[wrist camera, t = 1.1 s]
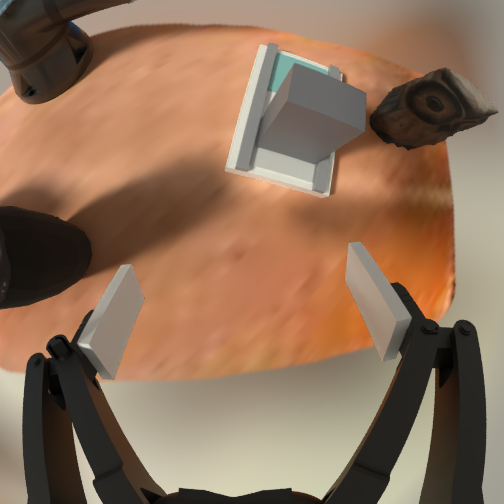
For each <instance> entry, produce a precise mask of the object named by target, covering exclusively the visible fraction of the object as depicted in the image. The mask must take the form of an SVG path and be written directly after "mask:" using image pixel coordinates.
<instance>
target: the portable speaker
mask: <svg viewBox="0 0 504 504" xmlns="http://www.w3.org/2000/svg"><path fill="white" fill-rule="evenodd" d="M91 256H92V254H91V246H90V241H89V240H88V238H87V237H86V235H85V234H84V232H83V231H81V230H80V229H78V228H77V227H76V226H74V225H72V224H70V223H68V222H66V221H63V220H61V219H59V218H58V217H54V216H52V215H47V214H43V213H39V212H34V211H30V210H26V209H22V208H18V207H13V206H4V207H0V309H7V308H15V307H22V306H27V305H30V304H33V303H36V302H39V301H41V300H44V299H47V298H50V297H52V296H55V295H58V294H60V293H61V292H63V291H64V290H66V289H67V288H69V287H70V286H72V285H74V284H75V283H77V282H78V281H79V280H80V279H81V278H82V277H83V276H84V274H85V272H86V270H87V268H88V265H89V262H90V259H91Z"/></svg>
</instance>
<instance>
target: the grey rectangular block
mask: <svg viewBox="0 0 504 504" xmlns="http://www.w3.org/2000/svg"><path fill="white" fill-rule="evenodd" d="M365 122H366V93H365V92H363V91H361V90H359V89H357V88H355V87H353V86H351V85H349V84H347V83H344V82H342V81H340V80H338V79H335V78H333V77H331V76H328V75H326V74H323V73H321V72H319V71H316V70H313V69H311V68H308V67H305V66H303V65H300V64H297V63H294V64H293V66H292V67H291V69H290V71H289V72H288V74H287V76H286V77H285V79H284V80H283V82H282V84H281V85H280V87H279V89H278V90H277V92H276V94H275V96H274V97H273V99H272V101H271V102H270V104H269V106H268V108H267V109H266V111H265V113H264V115H263V119H262V123H261V128H260V132H259V136H258V140H257V145H256V147H259V148H262V149H266V150H270V151H273V152H276V153H280V154H283V155H286V156H290V157H293V158H296V159H299V160H302V161H305V162H308V163H311V164H316V163H317V162H319V161H320V160H322V159H323V158H325V157H326V156H328V155H330V154H331V153H333V152H334V151H336V150H337V149H339V148H340V147H342V146H344V145H345V144H347V143H348V142H350V141H351V140H353V139H355V138H356V137H358V136H359V135H361V134H363V133H364V132H365Z"/></svg>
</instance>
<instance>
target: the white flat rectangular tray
mask: <svg viewBox="0 0 504 504" xmlns="http://www.w3.org/2000/svg"><path fill="white" fill-rule="evenodd" d="M294 63H297V64H300V65H303V66H305V67H308V68H311V69H313V70H316V71H319V72H321V73H323V74H326V75H328V76H331V77H333V78H335V79H338V80H340V81H342V74H341V73H339V68H337V67H335V66H333V65H330V66H329V68H328V67H325V66H323V65H320V64H318V63H315V62H313V61H310V60H308V59H305V58H302V57H299V56H296V55H294V54H291V53H288V52H285V51H282V50H278V45H276V44H273V43H269V44H268V46H265V45H261V44H260V47H259V49H258V52H257V55H256V58H255V61H254V65H253V68H252V71H251V75H250V78H249V81H248V85H247V88H246V91H245V95H244V98H243V102H242V105H241V109H240V113H239V116H238V120H237V124H236V127H235V131H234V135H233V139H232V142H231V146H230V150H229V154H228V158H227V162H226V166H225V170H224V171H225V172H229V173H233V174H237V175H241V176H245V177H249V178H253V179H257V180H260V181H264V182H268V183H272V184H275V185H279V186H282V187H286V188H290V189H293V190H296V191H300V192H303V193H307V194H310V195H313V196H316V197H320V198H325V197H328V196H329V193H330V187H331V180H332V172H333V165H334V157H335V151H334V152H333V153H331V154H330V155H328V156H326V157H325V158H323V159H322V160H320V161H319V162H317V163H316V164H311V163H308V162H305V161H302V160H299V159H296V158H293V157H290V156H286V155H283V154H280V153H276V152H273V151H270V150H266V149H262V148H259V147H256V145H257V140H258V136H259V132H260V128H261V123H262V119H263V115H264V113H265V111H266V109H267V108H268V106H269V104H270V102H271V101H272V99H273V97H274V96H275V94H276V92H277V90H278V89H279V87H280V85H281V84H282V82H283V80H284V79H285V77H286V76H287V74H288V72H289V71H290V69H291V67H292V66H293V64H294Z"/></svg>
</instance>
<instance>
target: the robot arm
mask: <svg viewBox="0 0 504 504" xmlns="http://www.w3.org/2000/svg"><path fill="white" fill-rule="evenodd" d="M134 1H135V0H0V61H1V62H2V63H3V64H4V65H5V66H6V67H7V68H8V70H9V72H10V76H11V79H12V83H13V86H14V90H15V92H16V94H17V95H18V96H19V97H20V98H21V99H22V100H23V101H24V102H25V103H28V104H40V103H43V102H46V101H49V100H51V99H53V98H55V97H56V96H58V95H59V94H61V93H62V92H64V91H65V90H66V89H68V88H69V87H70V86H71V85H72V84H73V83H74V82H75V81H76V80H77V79H78V78H79V77H80V76H81V75H82V73H83V72H84V71H85V69H86V68H87V66H88V64H89V62H90V60H91V57H92V53H93V46H92V43H91V41H90V38H89V36H88V35H87V34H86V33H85V32H84V31H83V30H81V29H80V28H79V27H78V26H77V25H75V24H74V23H73V22H71V21H72V20H74V19H77V18H80V17H83V16H85V15H88V14H91V13H94V12H97V11H100V10H104V9H107V8H110V7H114V6H118V5H121V4H125V3H128V4H129V3H132V2H134ZM345 282H346V284H347V286H348V288H349V290H350V292H351V294H352V296H353V298H354V300H355V302H356V304H357V306H358V309H359V311H360V313H361V315H362V317H363V319H364V322H365V324H366V326H367V328H368V330H369V333H370V335H371V337H372V340H373V342H374V344H375V346H376V349H377V351H378V353H379V356H380V358H381V361H382V362H383V361H387V360H391V359H395V358H396V357H397V354H398V352H399V351H400V353H401V355H402V358H401V360H400V362H399V365H398V367H397V369H396V373H395V375H394V377H393V380H392V382H391V384H390V387H389V389H388V391H387V393H386V395H385V397H384V400H383V402H382V404H381V406H380V408H379V410H378V412H377V414H376V416H375V418H374V420H373V422H372V424H371V426H370V427H369V429H368V431H367V433H366V434H365V437H364V438H363V440H362V441H361V443H360V445H359V447H358V448H357V450H356V452H355V453H354V455H353V456H352V458H351V460H350V461H349V463H348V464H347V466H346V467H345V469H344V470H343V472H342V473H341V475H340V476H339V478H338V479H337V480H336V482H335V483H334V484H333V486H332V487H331V488H330V489H329V491H328V492H327V493H326V495H325V496H324V498H323V499H322V500H320V499H318V498H316V497H314V496H312V495H309V494H306V493H301V492H294V491H292V489H291V488H286V489H275V490H262V491H259V492H255V493H251V494H247V495H243V496H238V497H229V496H225V495H221V494H217V493H213V492H210V491H206V490H196V489H184V488H179V492H175V493H171V494H168V495H167V494H166V493H165V491H164V490H163V489H162V488H161V487H160V486H159V485H157V484H156V483H155V481H154V480H153V479H152V478H151V476H150V475H149V473H148V472H147V470H146V469H145V467H144V466H143V464H142V463H141V462H140V460H139V458H138V457H137V455H136V453H135V452H134V450H133V448H132V447H131V445H130V443H129V442H128V440H127V438H126V437H125V435H124V433H123V431H122V429H121V427H120V426H119V424H118V422H117V420H116V418H115V416H114V414H113V412H112V410H111V408H110V406H109V404H108V402H107V400H106V398H105V396H104V393H103V391H102V389H101V387H100V384H99V382H98V380H97V379H96V378H95V376H96V374H97V372H98V373H99V375H100V376H101V377H102V378H103V379H111V380H114V379H115V376H116V373H117V370H118V367H119V364H120V361H121V359H122V356H123V353H124V350H125V348H126V345H127V342H128V339H129V337H130V334H131V332H132V329H133V326H134V324H135V321H136V319H137V316H138V314H139V311H140V309H141V306H142V304H143V302H144V299H145V298H144V296H143V293H142V291H141V288H140V285H139V283H138V280H137V278H136V275H135V272H134V269H133V267H132V264H126V265H121V266H120V268H119V269H118V271H117V273H116V274H115V276H114V277H113V279H112V281H111V282H110V284H109V286H108V287H107V289H106V291H105V292H104V294H103V296H102V297H101V299H100V301H99V303H98V304H97V306H96V308H95V310H91V311H90V312H89V313H88V314H87V315H86V316H85V317H84V319H83V321H82V324H80V326H79V329H78V330H77V332H76V334H75V336H74V337H73V339H72V341H71V343H69V341H68V340H67V338H66V337H65V336H64V335H56V336H54V337H53V338H51V339H50V341H49V342H48V344H47V346H46V350H47V351H48V352H49V354H50V355H51V356H52V358H48V359H46V358H45V356H44V355H43V354H42V353H36V354H34V355H32V356H31V357H30V359H29V360H28V363H27V368H26V376H25V386H24V398H23V425H22V426H23V428H22V429H23V430H22V431H23V432H22V434H23V457H24V470H25V479H26V486H27V493H28V503H27V504H87V500H86V497H85V493H84V489H83V485H82V481H81V476H80V472H79V467H78V462H77V456H76V450H75V444H74V437H73V429H72V423H73V426H74V429H75V431H76V434H77V437H78V439H79V441H80V444H81V446H82V449H83V451H84V454H85V456H86V458H87V460H88V462H89V465H90V467H91V469H92V471H93V473H94V475H95V479H94V480H93V486H94V488H95V490H96V492H97V494H98V496H99V497H100V499H101V501H102V503H103V504H377V502H378V501H379V499H380V498H381V496H382V494H383V492H384V491H385V489H386V487H387V485H388V483H389V480H390V473H391V471H392V469H393V467H394V465H395V463H396V461H397V459H398V457H399V455H400V453H401V451H402V449H403V447H404V445H405V442H406V440H407V438H408V435H409V433H410V431H411V428H412V426H413V423H414V421H415V418H416V416H417V413H418V410H419V408H420V405H421V402H422V399H423V396H424V393H425V390H426V387H427V384H428V381H429V377H430V374H431V370H432V368H435V404H434V418H433V429H432V437H431V444H430V451H429V457H428V463H427V469H426V474H425V479H424V483H423V487H422V491H421V496H420V501H419V504H484V501H483V493H482V482H483V474H484V464H485V452H486V398H485V385H484V375H483V367H482V361H481V354H480V347H479V342H478V336H477V331H476V328H475V326H474V325H473V324H472V323H470V322H469V321H466V320H459V321H457V322H456V323H455V325H454V327H453V328H446V327H445V328H444V327H439V325H438V324H437V323H436V322H435V321H433V320H431V319H426V318H425V316H424V315H423V313H422V312H421V310H420V309H419V307H418V306H417V304H416V303H415V301H413V298H412V297H411V295H410V294H409V292H408V291H407V290H406V288H405V287H404V286H402V285H401V284H399V283H398V282H396V283H389V281H388V280H387V278H386V277H385V275H384V274H383V272H382V271H381V269H380V268H379V267H378V265H377V264H376V262H375V261H374V259H373V258H372V257H371V255H370V254H369V252H368V251H367V250H366V248H365V247H364V246H363V244H362V243H361V241H360V242H350V243H349V245H348V257H347V267H346V276H345Z"/></svg>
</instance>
